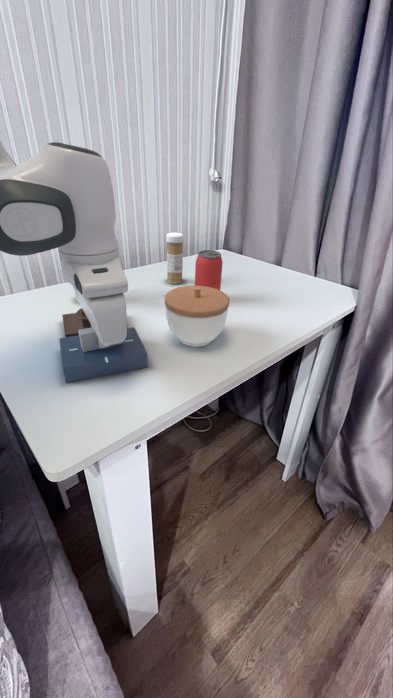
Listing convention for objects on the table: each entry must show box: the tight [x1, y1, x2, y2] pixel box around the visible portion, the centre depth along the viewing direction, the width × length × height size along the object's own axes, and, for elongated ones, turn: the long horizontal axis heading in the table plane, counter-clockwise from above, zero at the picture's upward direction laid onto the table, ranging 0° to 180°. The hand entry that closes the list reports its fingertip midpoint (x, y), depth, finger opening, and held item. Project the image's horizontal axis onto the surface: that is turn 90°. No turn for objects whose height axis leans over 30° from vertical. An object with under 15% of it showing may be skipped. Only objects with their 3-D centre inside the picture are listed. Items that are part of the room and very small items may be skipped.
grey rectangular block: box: [78, 327, 123, 352], centre depth 59 cm, size 7×2×4 cm, turn 117°
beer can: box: [194, 249, 224, 291], centre depth 82 cm, size 7×7×12 cm
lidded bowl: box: [164, 285, 230, 348], centre depth 66 cm, size 13×13×11 cm
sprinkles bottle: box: [165, 231, 184, 285], centre depth 91 cm, size 5×5×13 cm
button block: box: [61, 307, 91, 338], centre depth 69 cm, size 12×9×4 cm
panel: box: [59, 326, 149, 384], centre depth 60 cm, size 14×11×3 cm
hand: (101, 341), depth 59 cm, fingers closed, pressing on grey rectangular block
